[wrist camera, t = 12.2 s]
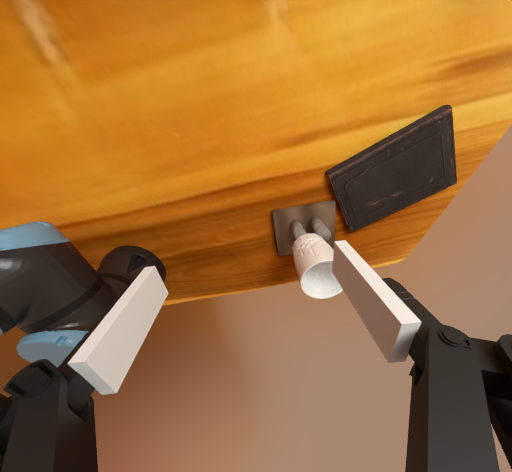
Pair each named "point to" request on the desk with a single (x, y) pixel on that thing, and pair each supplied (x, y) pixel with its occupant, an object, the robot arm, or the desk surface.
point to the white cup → (315, 266)
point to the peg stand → (304, 224)
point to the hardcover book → (397, 170)
